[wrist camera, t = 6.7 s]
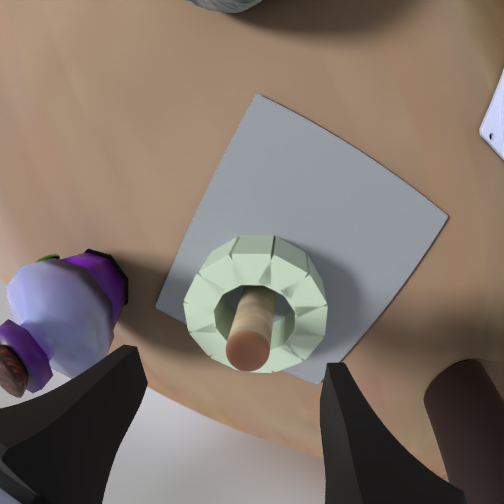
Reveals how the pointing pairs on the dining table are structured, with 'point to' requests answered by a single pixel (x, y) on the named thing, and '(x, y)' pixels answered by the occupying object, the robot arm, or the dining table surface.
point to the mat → (310, 223)
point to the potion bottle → (59, 318)
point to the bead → (258, 273)
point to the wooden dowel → (252, 329)
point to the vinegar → (469, 430)
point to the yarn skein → (225, 5)
